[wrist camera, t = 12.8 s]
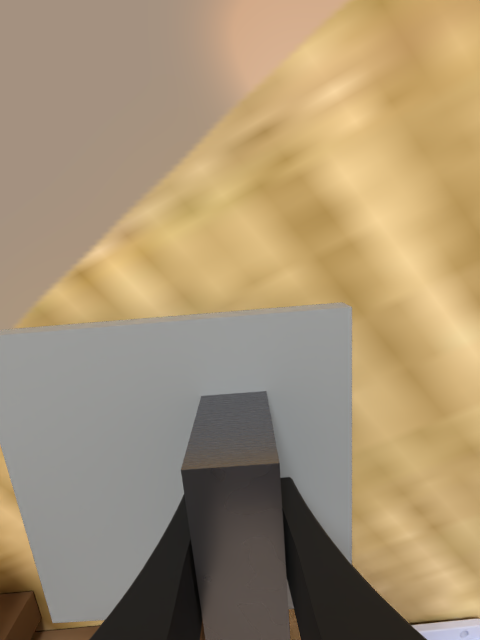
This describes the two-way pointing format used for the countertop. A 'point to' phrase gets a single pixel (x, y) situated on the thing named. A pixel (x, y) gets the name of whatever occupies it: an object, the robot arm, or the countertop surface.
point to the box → (36, 621)
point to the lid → (179, 452)
